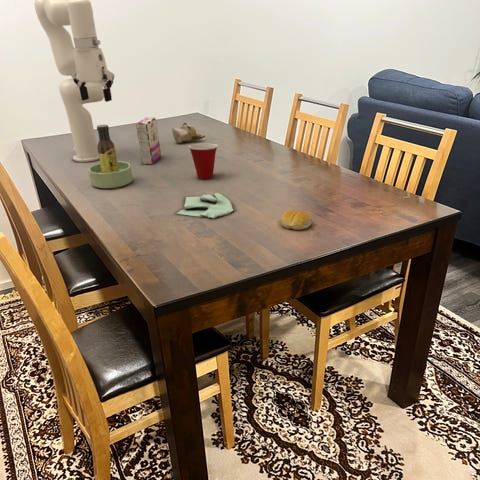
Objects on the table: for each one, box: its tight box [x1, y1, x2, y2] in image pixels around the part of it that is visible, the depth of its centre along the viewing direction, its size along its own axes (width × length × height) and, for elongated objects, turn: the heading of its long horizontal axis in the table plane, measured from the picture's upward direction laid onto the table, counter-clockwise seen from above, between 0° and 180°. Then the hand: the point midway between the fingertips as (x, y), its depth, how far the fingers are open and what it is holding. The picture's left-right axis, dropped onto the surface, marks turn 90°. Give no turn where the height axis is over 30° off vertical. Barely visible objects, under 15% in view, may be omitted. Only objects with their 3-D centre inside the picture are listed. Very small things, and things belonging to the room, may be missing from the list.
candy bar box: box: [135, 116, 162, 165], centre depth 200 cm, size 11×5×16 cm, turn 168°
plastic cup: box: [188, 142, 219, 180], centre depth 180 cm, size 11×11×12 cm
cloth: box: [176, 192, 235, 220], centre depth 158 cm, size 20×22×2 cm
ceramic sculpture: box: [171, 122, 206, 144], centre depth 227 cm, size 11×9×15 cm
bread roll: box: [280, 210, 313, 231], centre depth 141 cm, size 8×9×4 cm
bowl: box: [88, 160, 134, 189], centre depth 180 cm, size 15×15×6 cm
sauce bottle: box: [96, 124, 119, 173], centre depth 176 cm, size 6×6×20 cm
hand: (96, 100), depth 167 cm, fingers open, 9 cm apart
